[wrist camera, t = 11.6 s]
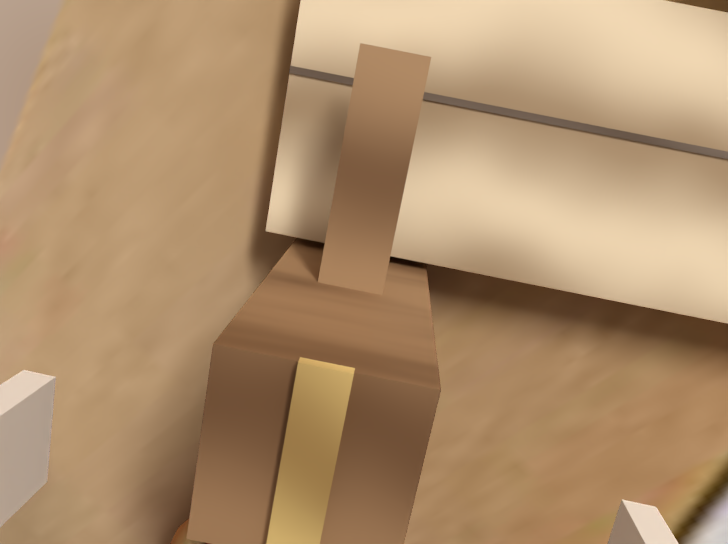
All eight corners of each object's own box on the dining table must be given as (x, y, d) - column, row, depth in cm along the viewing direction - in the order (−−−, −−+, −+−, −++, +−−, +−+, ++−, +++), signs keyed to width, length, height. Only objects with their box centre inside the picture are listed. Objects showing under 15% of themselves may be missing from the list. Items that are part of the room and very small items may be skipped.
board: (857, 337, 25) (895, 357, 23) (276, 221, 26) (265, 231, 24) (968, 71, 23) (1022, 69, 21) (319, -55, 23) (310, -69, 21)
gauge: (399, 376, 27) (393, 594, 15) (280, 351, 27) (181, 550, 15) (465, 75, 24) (525, 50, 12) (331, 49, 24) (256, -2, 12)
